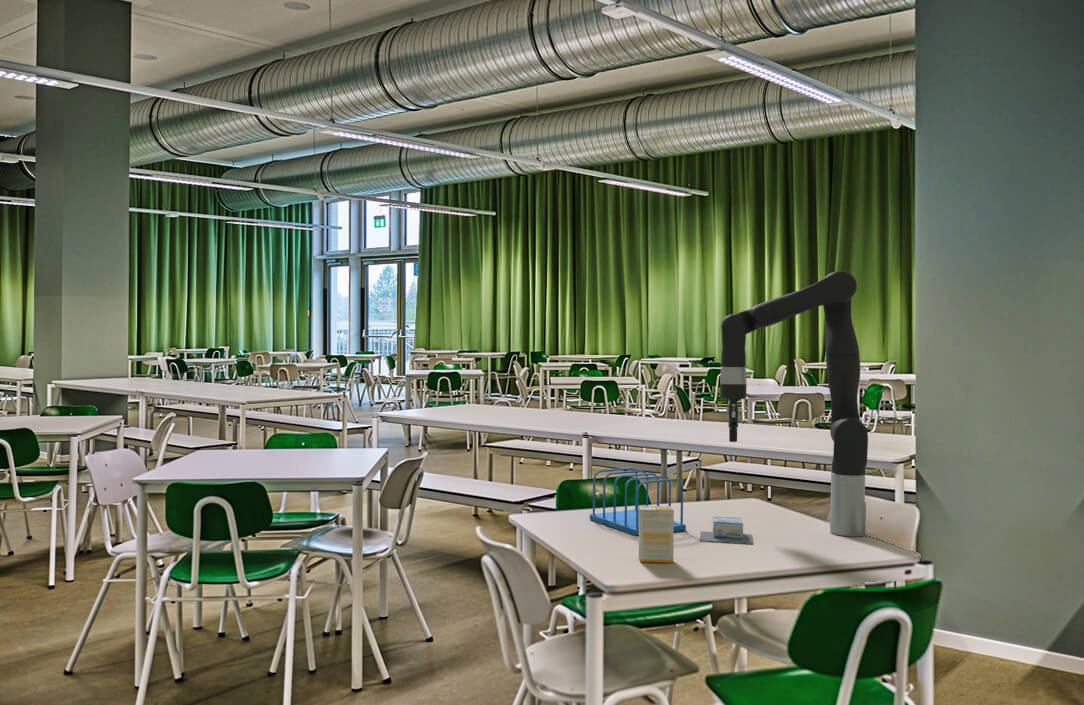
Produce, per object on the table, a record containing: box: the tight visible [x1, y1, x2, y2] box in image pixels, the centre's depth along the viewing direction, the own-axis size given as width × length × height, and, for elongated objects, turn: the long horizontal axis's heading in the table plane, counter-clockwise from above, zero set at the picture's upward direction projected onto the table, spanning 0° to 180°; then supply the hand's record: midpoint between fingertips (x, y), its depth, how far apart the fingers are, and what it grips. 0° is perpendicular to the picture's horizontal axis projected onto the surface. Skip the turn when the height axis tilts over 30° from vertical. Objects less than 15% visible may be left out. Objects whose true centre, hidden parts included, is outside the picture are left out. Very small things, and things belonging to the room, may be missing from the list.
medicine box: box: [712, 516, 744, 539], centre depth 244 cm, size 8×4×9 cm
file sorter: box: [589, 467, 687, 536], centre depth 258 cm, size 25×17×15 cm
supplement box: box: [638, 505, 675, 564], centre depth 214 cm, size 8×5×13 cm, turn 88°
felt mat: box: [699, 530, 754, 545], centre depth 242 cm, size 14×12×1 cm
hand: (733, 441), depth 257 cm, fingers closed
